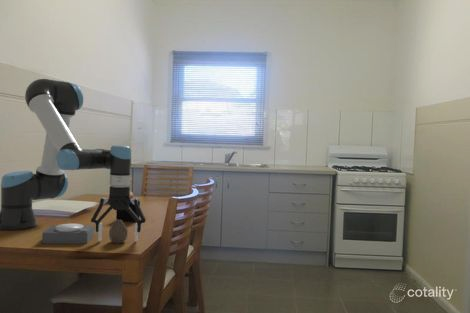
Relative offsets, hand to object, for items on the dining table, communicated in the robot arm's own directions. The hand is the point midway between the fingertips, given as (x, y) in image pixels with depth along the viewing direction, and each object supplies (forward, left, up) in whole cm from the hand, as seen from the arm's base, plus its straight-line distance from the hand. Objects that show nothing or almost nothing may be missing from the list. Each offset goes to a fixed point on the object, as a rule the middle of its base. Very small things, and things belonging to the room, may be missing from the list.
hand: (118, 240), depth 147 cm
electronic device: (-1, +37, -1) cm, 37 cm away
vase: (0, 0, -1) cm, 1 cm away
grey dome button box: (-19, +4, -1) cm, 19 cm away
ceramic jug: (-12, +93, -1) cm, 94 cm away
